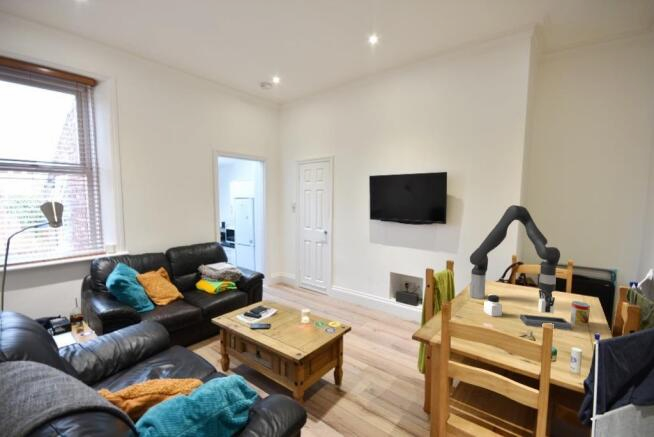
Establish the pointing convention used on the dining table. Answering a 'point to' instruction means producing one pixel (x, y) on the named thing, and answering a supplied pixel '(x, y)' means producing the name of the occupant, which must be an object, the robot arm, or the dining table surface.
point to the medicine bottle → (493, 306)
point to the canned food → (580, 313)
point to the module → (542, 306)
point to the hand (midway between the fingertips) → (545, 310)
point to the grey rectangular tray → (545, 321)
